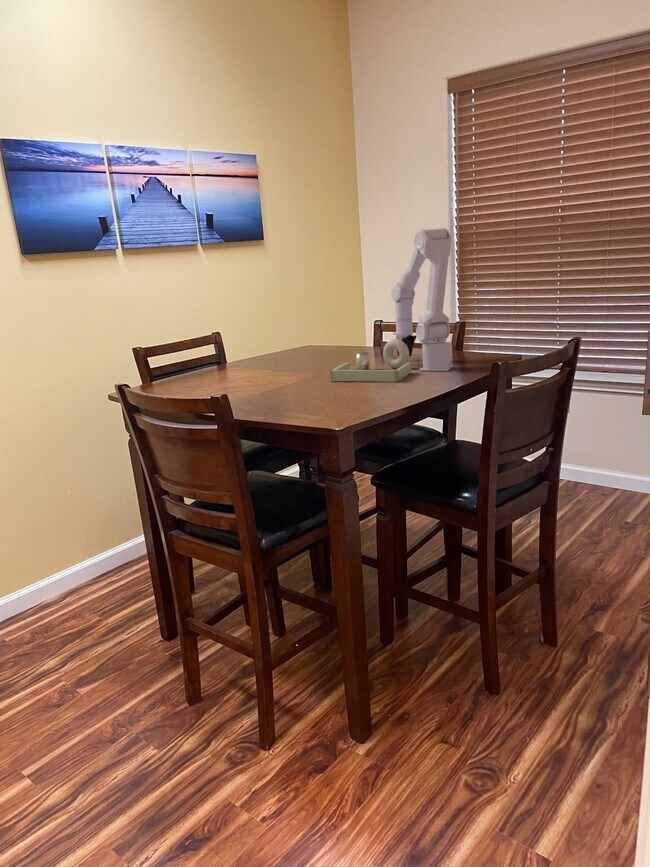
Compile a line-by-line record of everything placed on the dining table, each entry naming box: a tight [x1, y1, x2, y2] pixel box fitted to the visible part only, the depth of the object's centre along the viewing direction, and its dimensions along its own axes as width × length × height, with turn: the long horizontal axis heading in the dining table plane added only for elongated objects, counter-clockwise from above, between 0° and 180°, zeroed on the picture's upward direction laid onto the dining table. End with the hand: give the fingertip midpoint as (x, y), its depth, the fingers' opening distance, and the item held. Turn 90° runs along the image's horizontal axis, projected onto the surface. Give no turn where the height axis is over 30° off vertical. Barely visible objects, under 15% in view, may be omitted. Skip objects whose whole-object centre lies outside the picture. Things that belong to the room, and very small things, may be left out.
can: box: [355, 351, 371, 370], centre depth 220 cm, size 4×4×6 cm
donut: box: [382, 338, 410, 370], centre depth 218 cm, size 10×4×10 cm, turn 48°
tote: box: [329, 361, 412, 383], centre depth 207 cm, size 22×15×4 cm
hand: (405, 358), depth 229 cm, fingers open, 7 cm apart
